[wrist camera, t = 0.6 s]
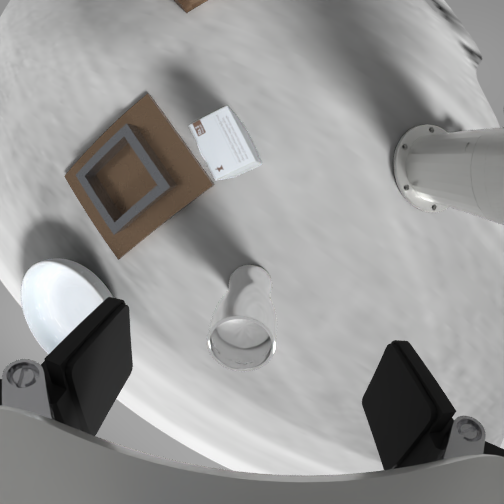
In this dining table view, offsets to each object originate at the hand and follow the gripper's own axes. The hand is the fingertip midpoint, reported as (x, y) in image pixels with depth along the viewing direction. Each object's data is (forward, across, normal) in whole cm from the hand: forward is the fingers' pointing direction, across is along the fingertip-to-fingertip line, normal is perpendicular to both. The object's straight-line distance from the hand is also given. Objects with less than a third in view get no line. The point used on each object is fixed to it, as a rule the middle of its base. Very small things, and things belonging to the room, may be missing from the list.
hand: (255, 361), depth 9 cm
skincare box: (+30, +4, -8) cm, 31 cm away
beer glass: (+30, 0, +10) cm, 32 cm away
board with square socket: (+30, +19, -3) cm, 36 cm away
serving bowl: (+31, +28, +20) cm, 46 cm away
